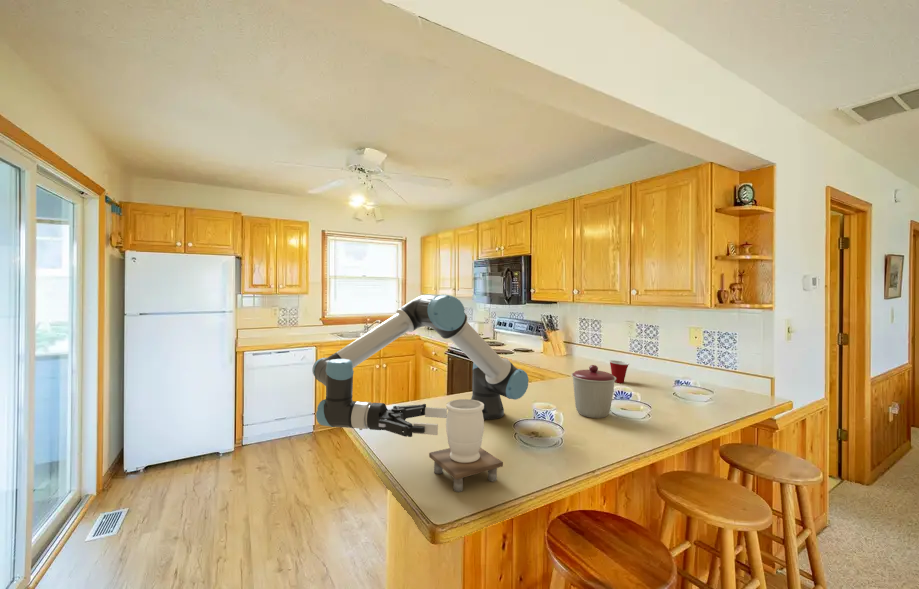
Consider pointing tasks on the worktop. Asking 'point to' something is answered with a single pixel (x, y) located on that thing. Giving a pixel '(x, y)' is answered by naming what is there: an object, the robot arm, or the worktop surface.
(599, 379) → the canister
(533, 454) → the worktop surface
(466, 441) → the jar
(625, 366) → the plastic cup
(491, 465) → the wooden trivet stand
